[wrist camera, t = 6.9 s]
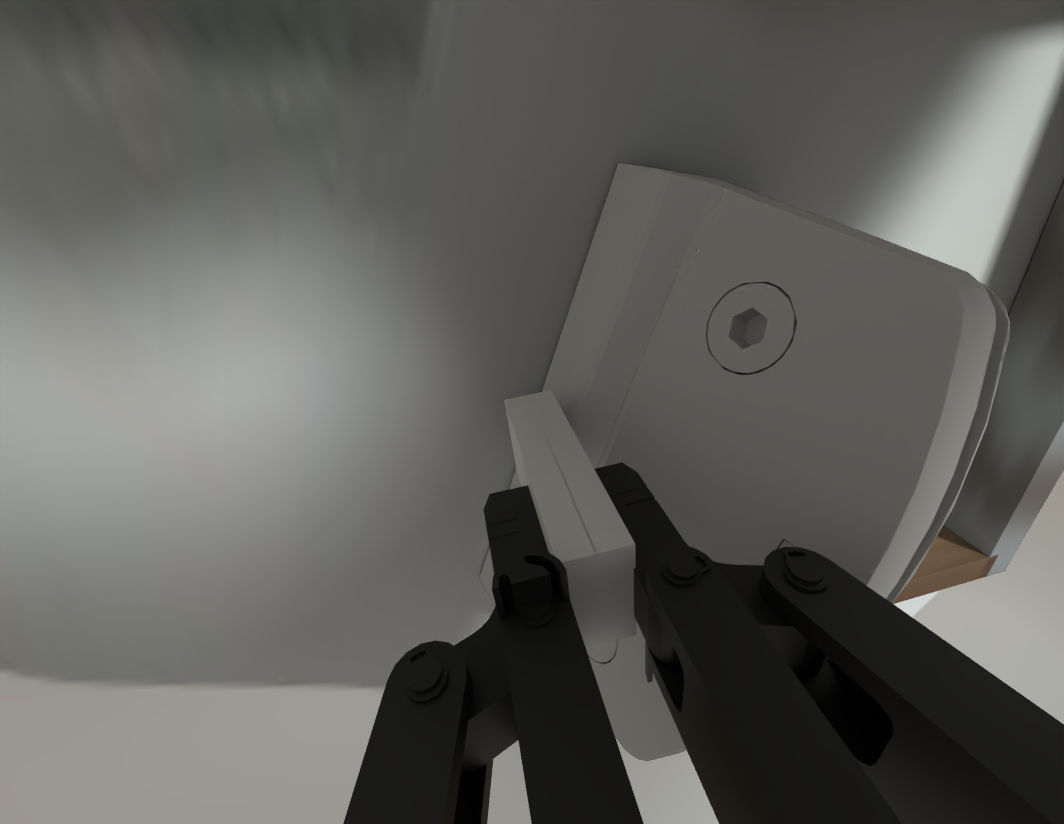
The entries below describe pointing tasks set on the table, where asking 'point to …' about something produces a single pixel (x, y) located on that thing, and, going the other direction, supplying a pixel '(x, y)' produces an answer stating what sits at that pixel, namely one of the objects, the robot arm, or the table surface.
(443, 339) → the table surface
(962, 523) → the brown u-shaped frame
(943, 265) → the hinge
